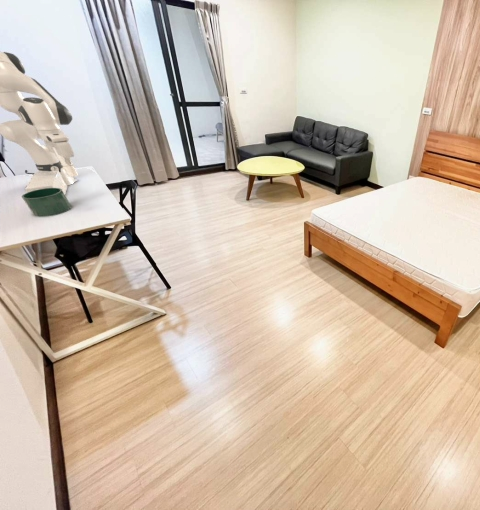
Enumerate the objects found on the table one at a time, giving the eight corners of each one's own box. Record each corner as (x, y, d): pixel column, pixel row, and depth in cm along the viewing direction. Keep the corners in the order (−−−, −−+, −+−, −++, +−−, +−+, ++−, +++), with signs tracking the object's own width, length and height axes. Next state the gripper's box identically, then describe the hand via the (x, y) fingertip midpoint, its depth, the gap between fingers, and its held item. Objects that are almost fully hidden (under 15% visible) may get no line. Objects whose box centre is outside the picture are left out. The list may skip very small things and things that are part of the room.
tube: (72, 177, 143) (57, 148, 135) (65, 176, 144) (50, 147, 136) (80, 174, 147) (65, 146, 138) (73, 173, 147) (58, 145, 139)
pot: (28, 211, 144) (16, 194, 138) (64, 202, 155) (54, 185, 149) (40, 219, 138) (28, 201, 132) (76, 208, 149) (67, 191, 143)
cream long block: (45, 189, 169) (35, 172, 163) (67, 186, 174) (58, 170, 168) (37, 207, 148) (24, 189, 142) (62, 203, 153) (51, 185, 147)
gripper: (34, 133, 136) (50, 160, 143) (52, 139, 128) (68, 168, 135) (50, 131, 140) (64, 158, 148) (69, 137, 132) (83, 165, 140)
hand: (66, 163), depth 142 cm, fingers closed on tube, 4 cm apart
